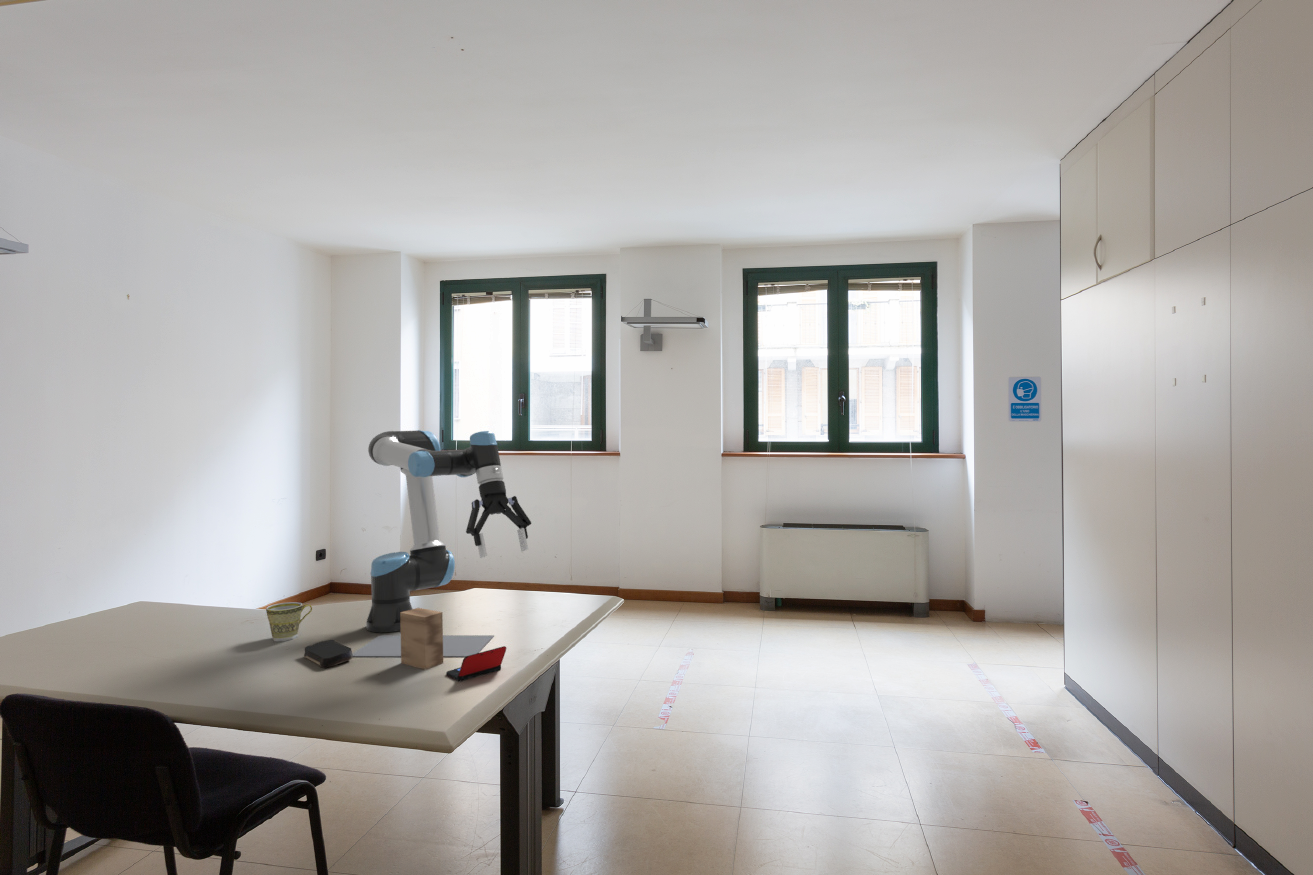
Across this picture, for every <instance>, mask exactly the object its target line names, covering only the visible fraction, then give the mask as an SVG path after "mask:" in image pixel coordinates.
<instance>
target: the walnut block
mask: <svg viewBox="0 0 1313 875" xmlns="http://www.w3.org/2000/svg"><path fill="white" fill-rule="evenodd" d="M443 620H444V619H443V612H442V611H437V610H433V609H427V608H422V607H415V608H413V609H411V610H408V611H404V612H400V626H401V631H400V635H401V657H400V662H401V664H403V665H405V666H406V665H407V666H410V667H414V668H418V669H422V670H428V669H431V668H434V667H437V666H439V665H442V664H444V657H443V635H444V631H443V630H444V627H443V625H444V624H443Z"/></svg>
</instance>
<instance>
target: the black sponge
mask: <svg viewBox="0 0 1313 875" xmlns="http://www.w3.org/2000/svg"><path fill="white" fill-rule="evenodd" d="M352 654H353V651H352V647H349V646H347V645H344V644H341V643H339V642H338V641H335V639H327V640H324V641H323V640H322V641H319V642H316V643H314V644H311V645H307V646H306V647H304V655H303V656H304V657H303V658H304V659H308V660H309V661H311V662H313V663H315V664H317V665H318V666H320V668H324V669H327V668H331V667H333V666H336V665H338V664H342V663H346V662H348V661H350V660H352V659H353V657H352Z"/></svg>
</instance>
